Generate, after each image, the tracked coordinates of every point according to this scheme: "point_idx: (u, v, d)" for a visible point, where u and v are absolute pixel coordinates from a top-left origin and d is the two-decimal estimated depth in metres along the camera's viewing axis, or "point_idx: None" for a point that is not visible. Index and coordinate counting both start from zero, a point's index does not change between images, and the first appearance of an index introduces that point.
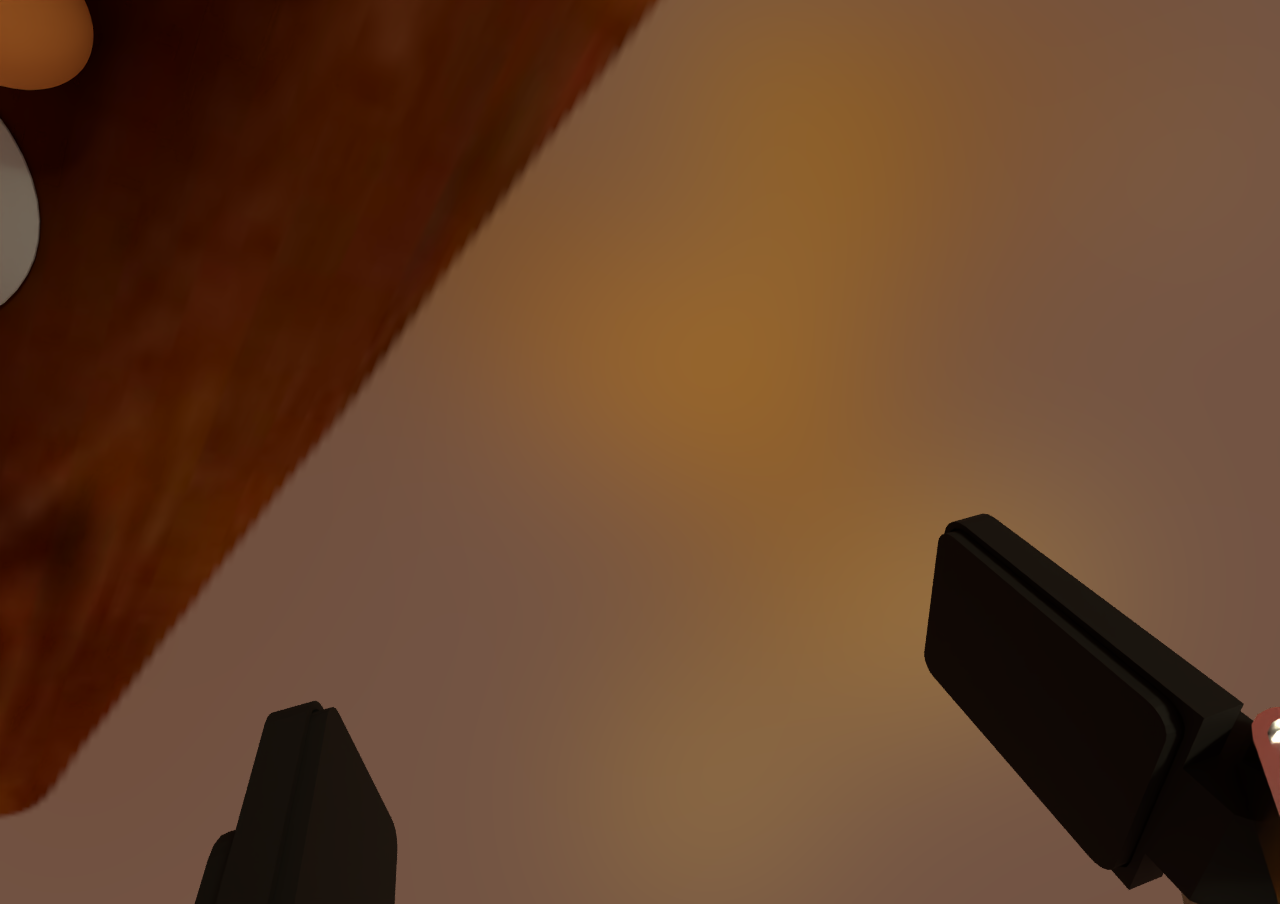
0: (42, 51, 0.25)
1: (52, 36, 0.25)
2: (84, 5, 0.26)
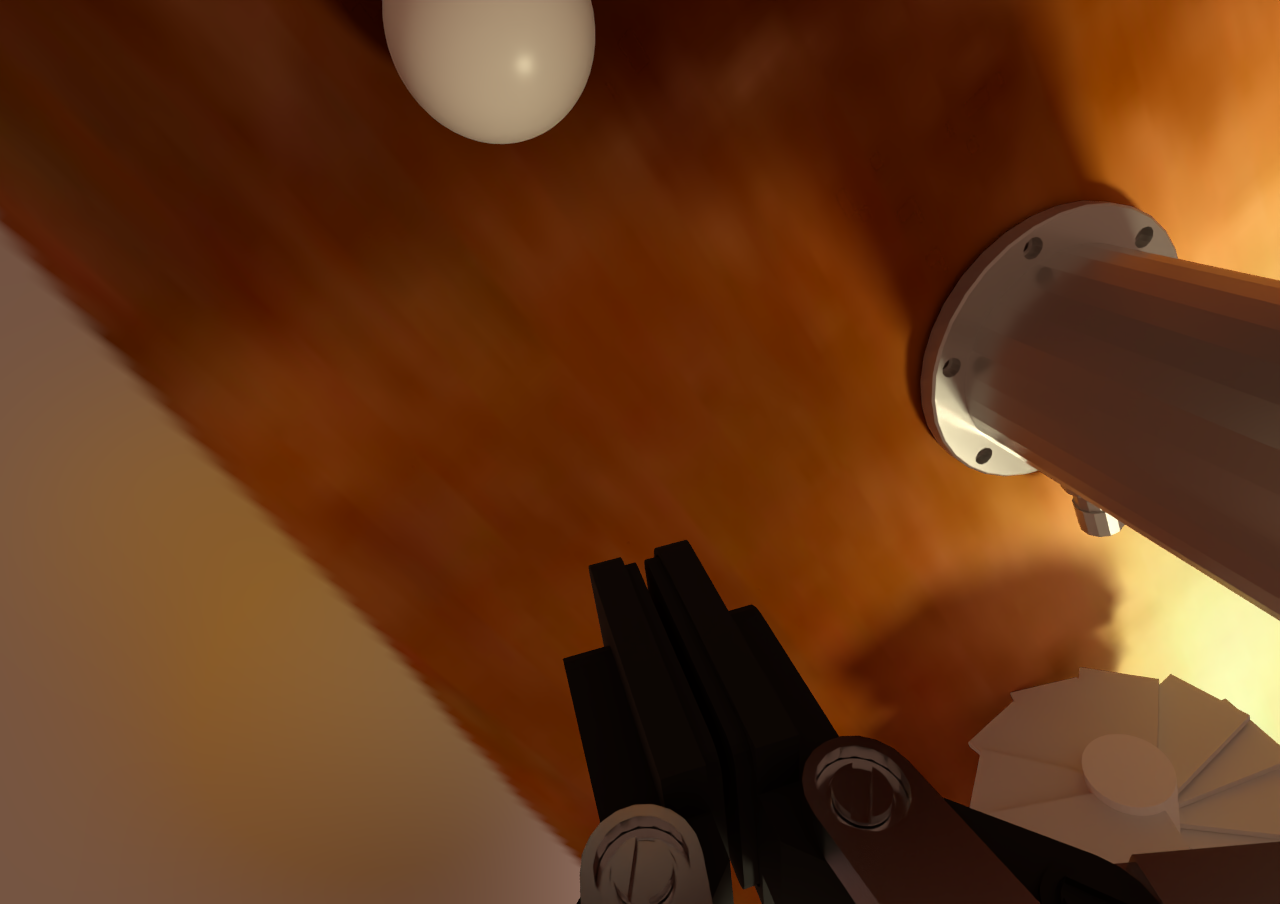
0: None
1: None
2: None
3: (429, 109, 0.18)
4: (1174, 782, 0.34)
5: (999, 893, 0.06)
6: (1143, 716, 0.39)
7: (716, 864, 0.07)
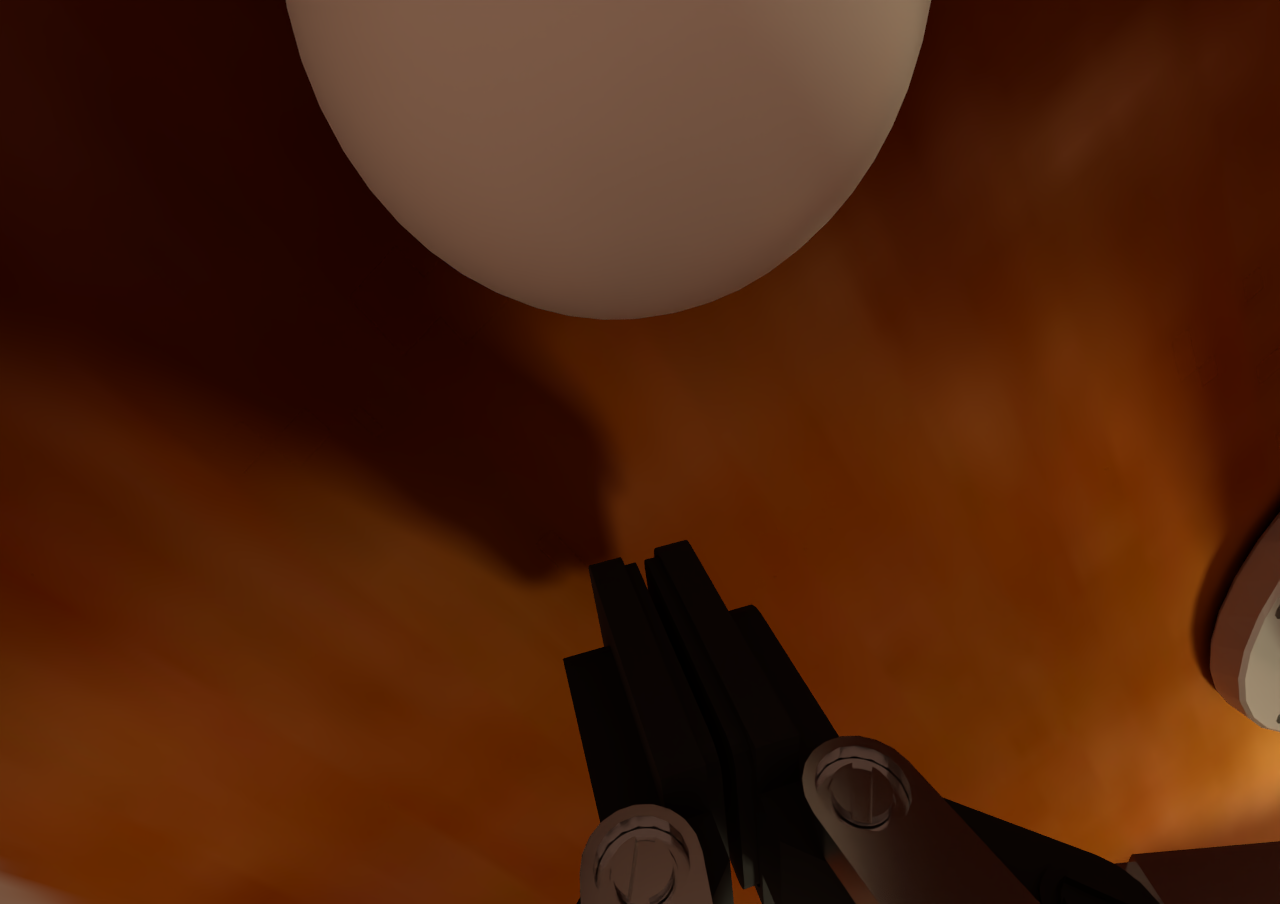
0: None
1: None
2: None
3: (427, 244, 0.06)
4: None
5: (999, 893, 0.06)
6: None
7: (716, 864, 0.07)
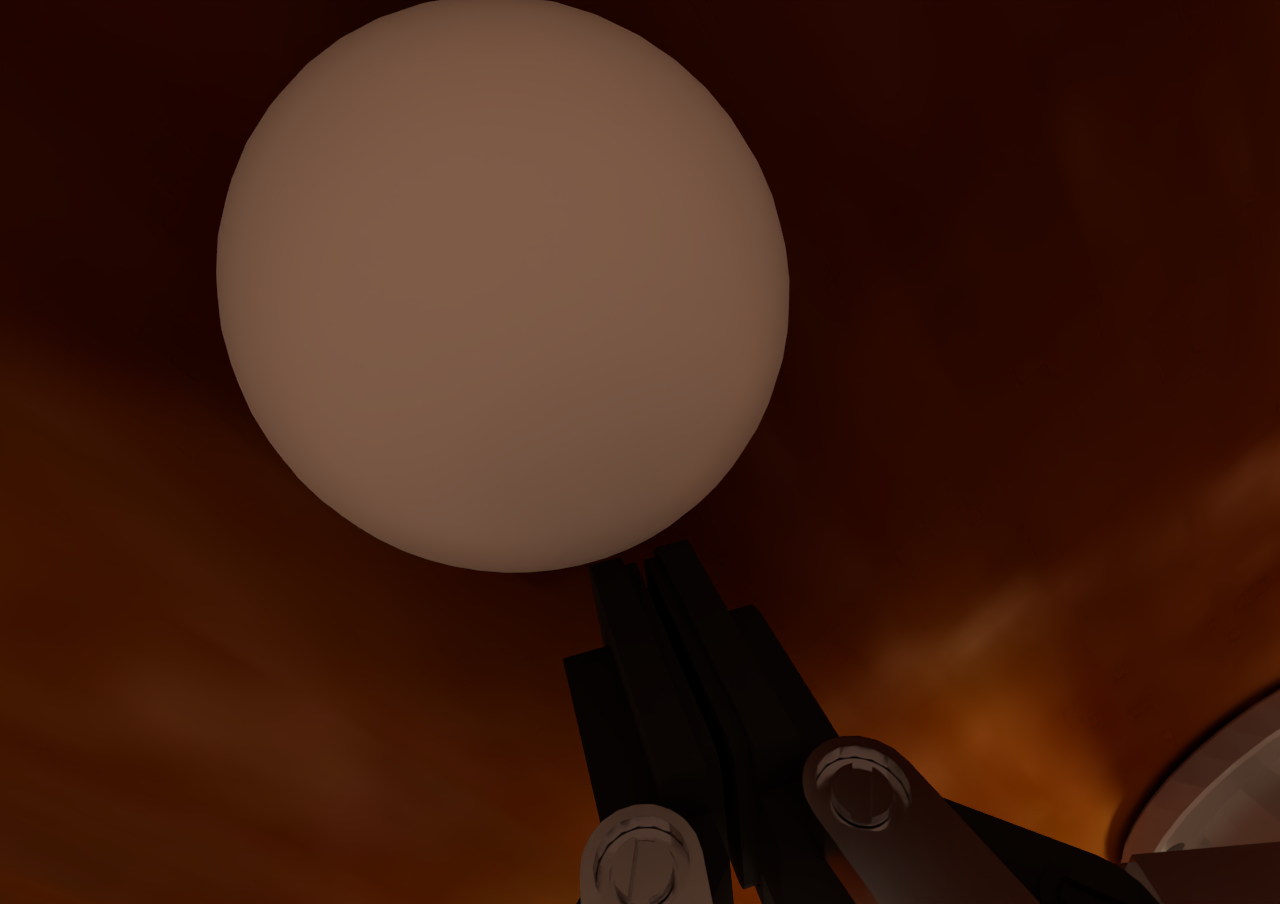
0: None
1: None
2: None
3: None
4: None
5: (999, 893, 0.06)
6: None
7: (716, 864, 0.07)
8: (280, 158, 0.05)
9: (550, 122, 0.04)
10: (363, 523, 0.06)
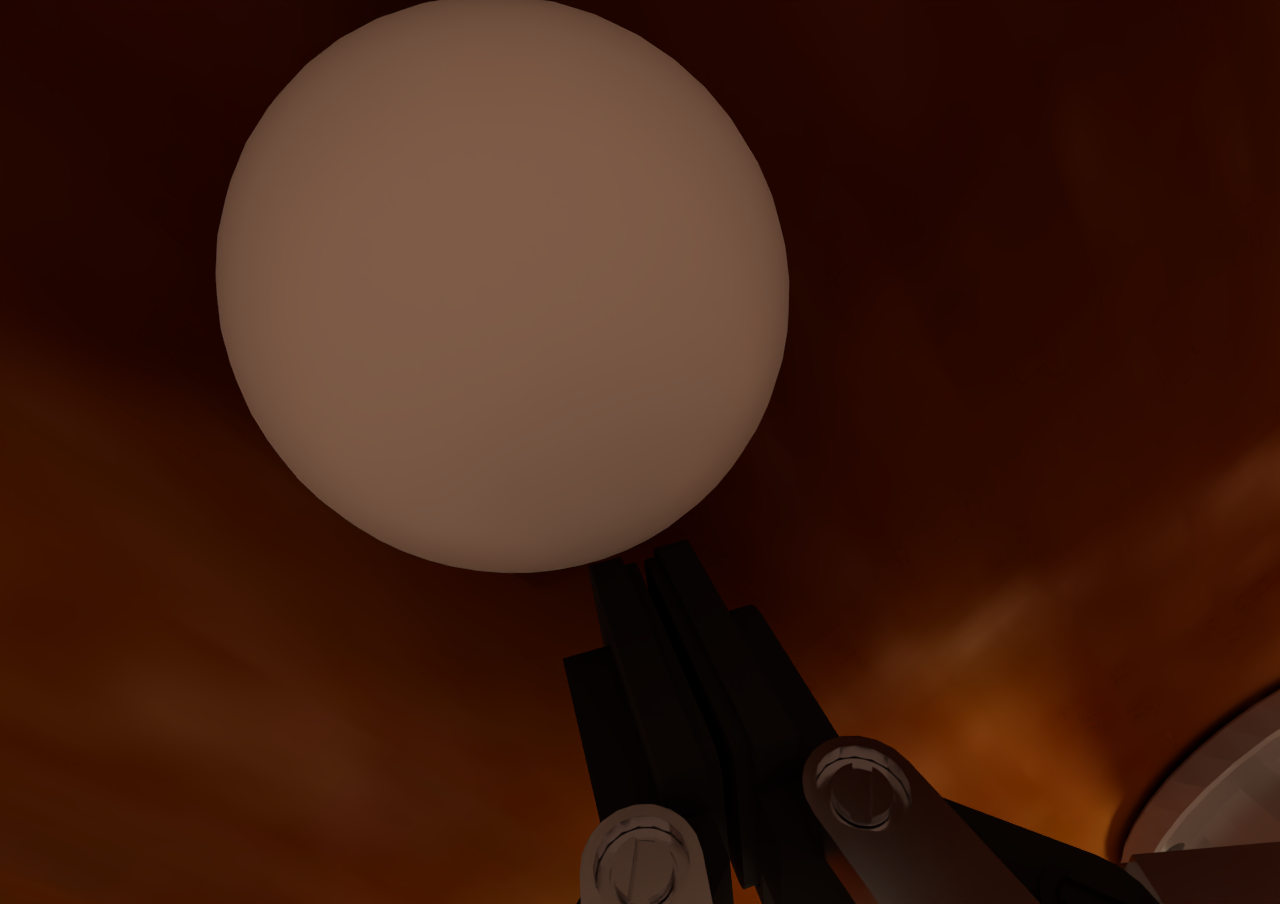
0: None
1: None
2: None
3: None
4: None
5: (999, 893, 0.06)
6: None
7: (716, 864, 0.07)
8: (280, 158, 0.05)
9: (550, 122, 0.04)
10: (363, 523, 0.06)
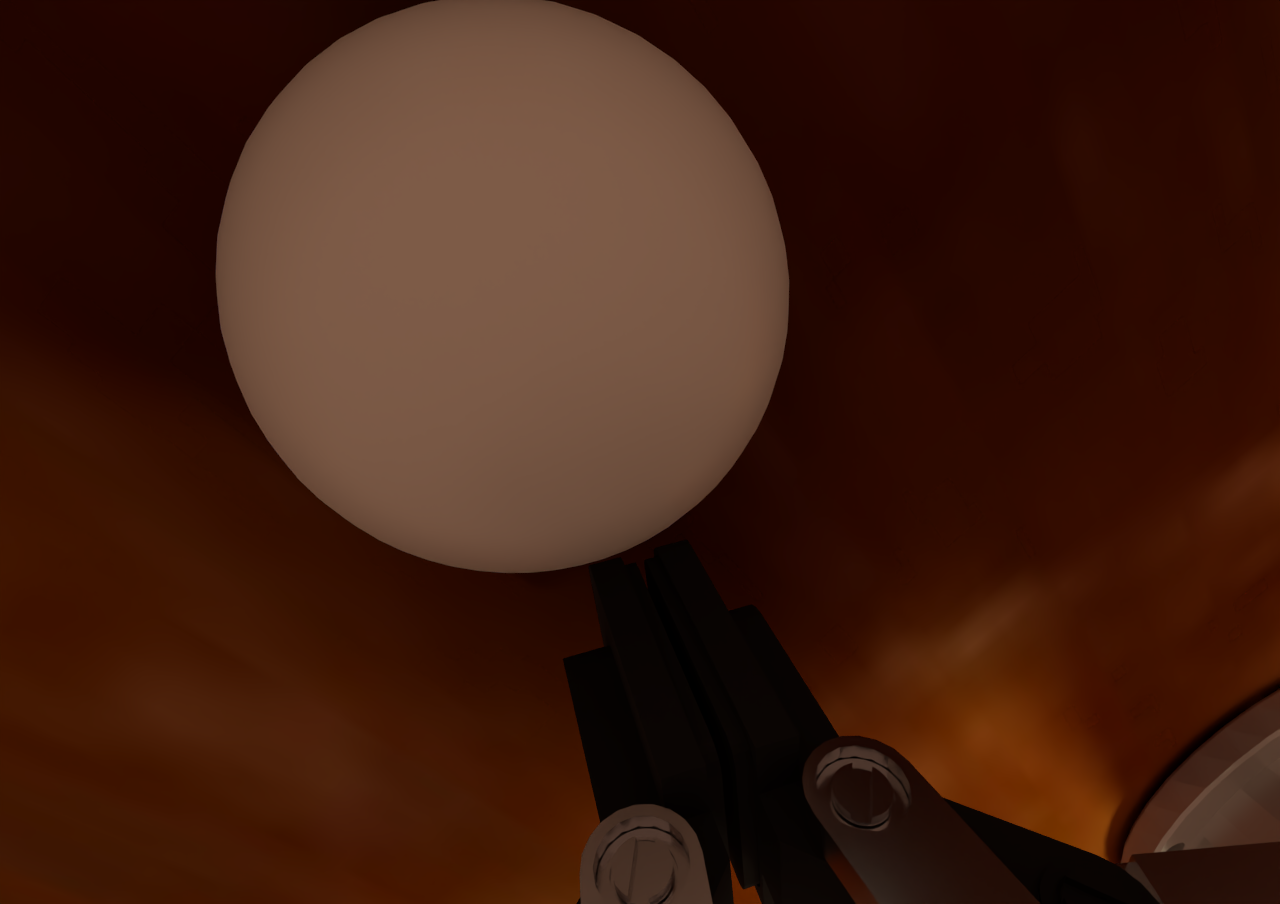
0: None
1: None
2: None
3: None
4: None
5: (999, 893, 0.06)
6: None
7: (716, 864, 0.07)
8: (280, 158, 0.05)
9: (550, 122, 0.04)
10: (363, 523, 0.06)
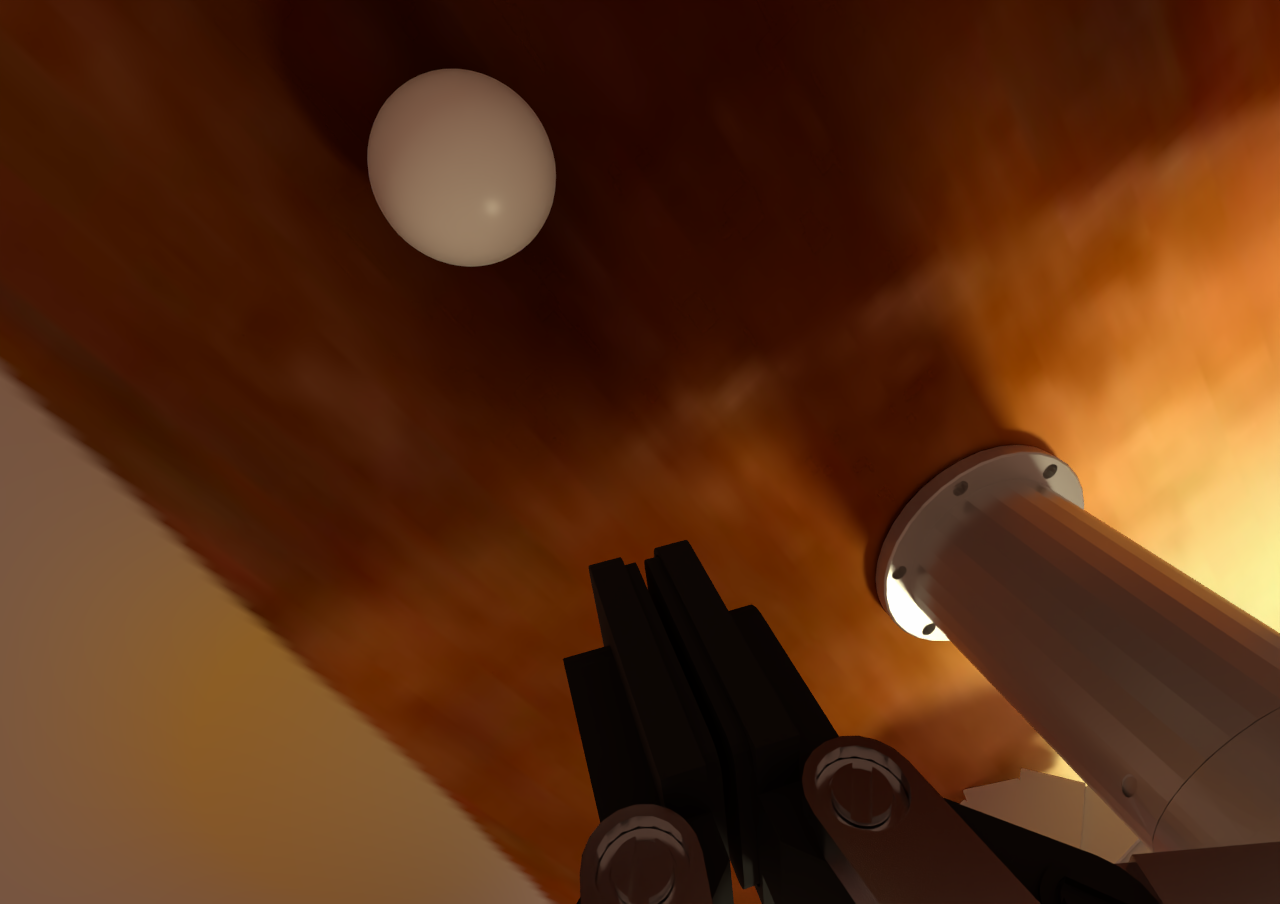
0: None
1: None
2: None
3: None
4: None
5: (999, 893, 0.06)
6: (1070, 817, 0.47)
7: (716, 864, 0.07)
8: (393, 115, 0.18)
9: (463, 105, 0.18)
10: (412, 229, 0.19)
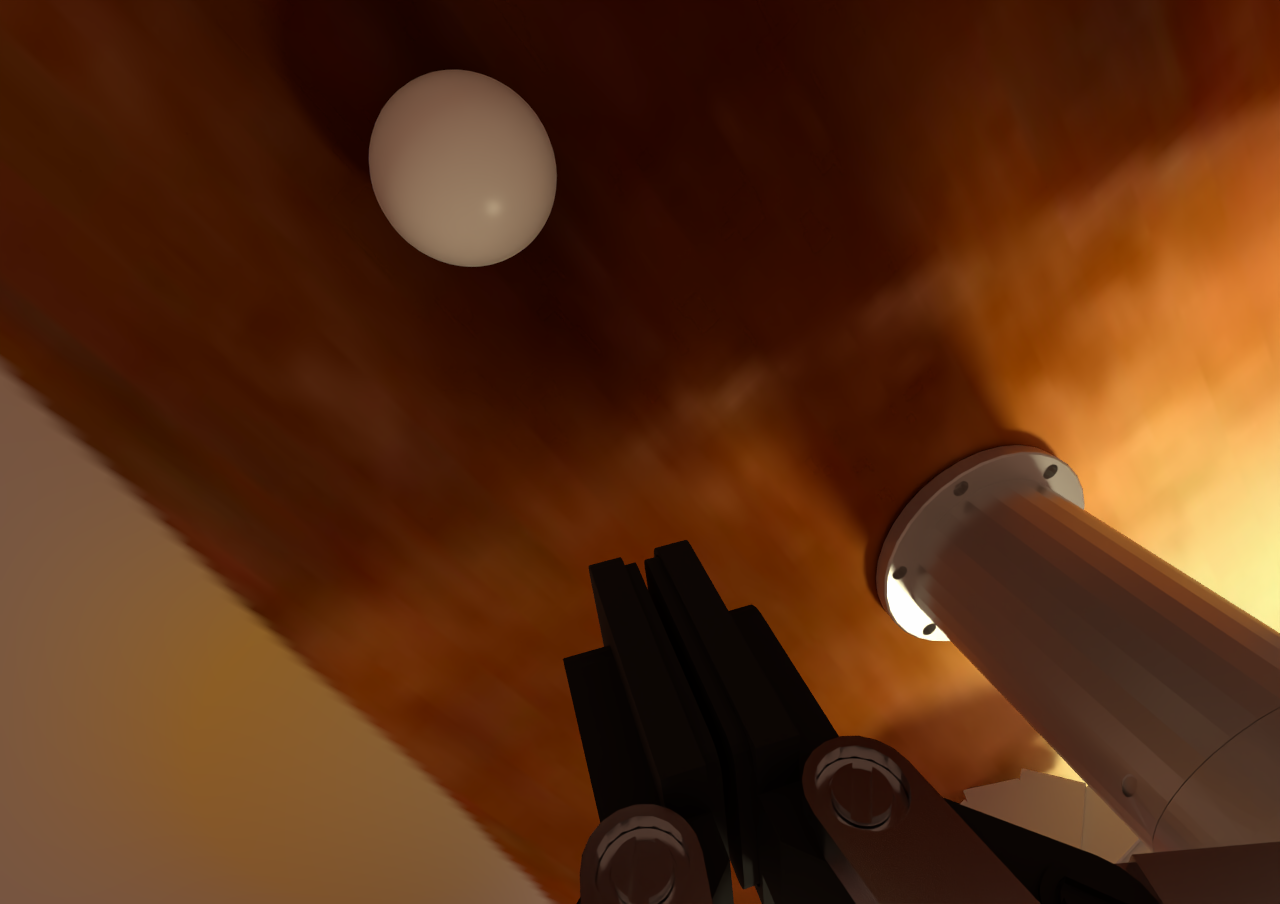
0: None
1: None
2: None
3: None
4: None
5: (999, 893, 0.06)
6: (1071, 817, 0.47)
7: (716, 864, 0.07)
8: (394, 116, 0.18)
9: (464, 106, 0.18)
10: (413, 229, 0.19)
